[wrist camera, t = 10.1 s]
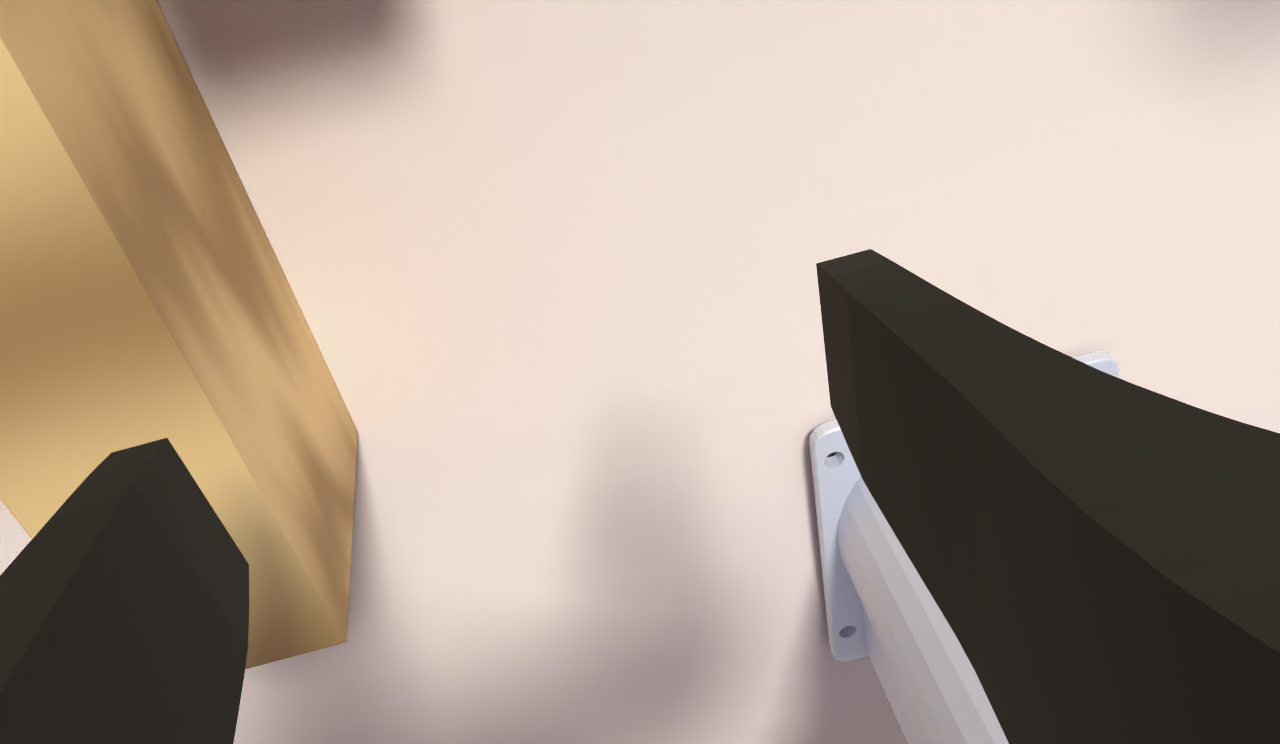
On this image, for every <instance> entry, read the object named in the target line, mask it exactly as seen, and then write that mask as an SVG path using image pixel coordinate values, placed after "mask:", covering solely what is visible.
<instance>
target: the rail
mask: <svg viewBox="0 0 1280 744" xmlns="http://www.w3.org/2000/svg"><path fill="white" fill-rule="evenodd" d="M164 438H168V440H169V441H170V443H171V444H172V446H173V447H174V449H175V450H176V452H177V454H178V455H179V457H180V458H181V460H182V461H183V463H184V464H185V466H186V468H187V469H188V471H189V472H190V474H191V475H192V477H193V478H194V480H195V482H196V483H197V485H198V486H199V488H200V489H201V491H202V492H203V494H204V495H205V497H206V499H207V500H208V502H209V503H210V505H211V506H212V508H213V509H214V511H215V513H216V514H217V516H218V517H219V519H220V520H221V522H222V523H223V525H224V527H225V528H226V530H227V531H228V533H229V534H230V536H231V537H232V539H233V540H234V542H235V544H236V545H237V547H238V548H239V550H240V551H241V553H242V554H243V556H244V558H245V559H246V561H247V562H248V564H249V634H248V652H247V659H246V666H245V669H247V668H251V667H255V666H258V665H262V664H266V663H270V662H273V661H277V660H281V659H285V658H288V657H292V656H296V655H300V654H303V653H307V652H311V651H315V650H318V649H322V648H326V647H330V646H333V645H337V644H341V643H345V642H347V626H348V608H349V589H350V570H351V551H352V533H353V514H354V495H355V477H356V458H357V439H358V431H357V429H356V427H355V425H354V423H353V421H352V418H351V416H350V414H349V412H348V410H347V408H346V405H345V403H344V401H343V399H342V397H341V395H340V393H339V390H338V388H337V386H336V384H335V382H334V380H333V378H332V375H331V373H330V371H329V369H328V367H327V365H326V363H325V360H324V358H323V356H322V354H321V352H320V350H319V347H318V345H317V343H316V341H315V339H314V337H313V335H312V332H311V330H310V328H309V326H308V324H307V322H306V320H305V317H304V315H303V313H302V311H301V309H300V307H299V304H298V302H297V300H296V298H295V296H294V294H293V292H292V289H291V287H290V285H289V283H288V281H287V279H286V277H285V274H284V272H283V270H282V268H281V266H280V264H279V262H278V259H277V257H276V255H275V253H274V251H273V249H272V246H271V244H270V242H269V240H268V238H267V236H266V234H265V231H264V229H263V227H262V225H261V223H260V221H259V219H258V216H257V214H256V212H255V210H254V208H253V206H252V204H251V201H250V199H249V197H248V195H247V193H246V191H245V188H244V186H243V184H242V182H241V180H240V178H239V176H238V173H237V171H236V169H235V167H234V165H233V163H232V161H231V158H230V156H229V154H228V152H227V150H226V148H225V146H224V143H223V141H222V139H221V137H220V135H219V133H218V130H217V128H216V126H215V124H214V122H213V120H212V118H211V115H210V113H209V111H208V109H207V107H206V105H205V103H204V100H203V98H202V96H201V94H200V92H199V90H198V87H197V85H196V83H195V81H194V79H193V77H192V75H191V72H190V70H189V68H188V66H187V64H186V62H185V60H184V57H183V55H182V53H181V51H180V49H179V47H178V45H177V42H176V40H175V38H174V36H173V34H172V32H171V29H170V27H169V25H168V23H167V21H166V19H165V17H164V14H163V12H162V10H161V8H160V6H159V4H158V2H157V0H0V500H1V501H2V502H3V504H4V505H5V506H6V507H7V509H8V510H9V511H10V512H11V514H12V515H13V516H14V517H15V519H16V520H17V521H18V522H19V524H20V525H21V526H22V527H23V529H24V530H25V531H26V532H27V534H28V535H29V536H30V537H31V539H33V538H34V537H35V536H36V534H37V533H38V532H39V531H40V530H41V529H42V527H43V526H44V525H45V524H46V523H47V522H48V521H49V519H50V518H51V517H52V516H53V515H54V514H55V513H56V511H57V510H58V509H59V508H60V507H61V506H62V504H63V503H64V502H65V501H66V500H67V499H68V498H69V497H70V495H71V494H72V493H73V492H74V491H75V490H76V489H77V488H78V486H79V485H80V484H81V483H82V482H83V481H84V480H85V479H86V478H87V477H88V476H89V475H90V473H91V472H92V471H93V470H94V469H95V468H96V467H97V466H98V465H99V464H100V463H101V462H102V461H103V460H104V459H105V458H106V457H108V456H109V455H110V454H111V453H112V452H116V451H119V450H123V449H127V448H130V447H134V446H138V445H142V444H145V443H149V442H153V441H157V440H160V439H164Z"/></svg>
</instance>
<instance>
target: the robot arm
mask: <svg viewBox="0 0 1280 744" xmlns="http://www.w3.org/2000/svg"><path fill="white" fill-rule="evenodd" d="M816 265H817V275H818V285H819V294H820V304H821V314H822V324H823V333H824V343H825V353H826V363H827V372H828V382H829V392H830V402H831V407H832V410H833V412H834V415H835V417H836V420H832V421H828V422H825V423H823V424H821V425H819V426H818V427H817V428H815V429H814V430H813V432H812V434H811V435H810V441H809V442H810V453H811V463H812V473H813V483H814V494H815V504H816V514H817V524H818V534H819V545H820V555H821V565H822V575H823V585H824V596H825V606H826V616H827V626H828V636H829V647H830V650H831V652H832V655H833V657H834V659H835V660H837V661H839V662H850V661H854V660H858V659H861V658H865V657H869V659H870V661H871V663H872V666H873V668H874V670H875V672H876V675H877V677H878V679H879V681H880V683H881V686H882V688H883V690H884V692H885V695H886V697H887V699H888V701H889V704H890V706H891V708H892V710H893V712H894V715H895V717H896V719H897V721H898V724H899V726H900V728H901V730H902V732H903V735H904V737H905V739H906V741H907V744H1280V434H1279V433H1276V432H1272V431H1269V430H1266V429H1262V428H1259V427H1255V426H1252V425H1248V424H1245V423H1241V422H1238V421H1235V420H1232V419H1229V418H1226V417H1223V416H1220V415H1217V414H1214V413H1211V412H1208V411H1205V410H1202V409H1199V408H1196V407H1193V406H1191V405H1188V404H1185V403H1183V402H1180V401H1177V400H1175V399H1172V398H1169V397H1166V396H1164V395H1161V394H1158V393H1156V392H1153V391H1150V390H1148V389H1145V388H1142V387H1139V386H1137V385H1134V384H1132V383H1129V382H1127V381H1124V380H1122V379H1119V378H1118V371H1119V365H1118V362H1117V361H1116V360H1115V359H1114V358H1113V357H1112V356H1111V355H1110V354H1109V353H1108V352H1106V351H1095V352H1091V353H1087V354H1083V355H1080V356H1076V357H1070V356H1068V355H1065V354H1063V353H1061V352H1059V351H1057V350H1054V349H1052V348H1050V347H1048V346H1046V345H1044V344H1042V343H1040V342H1038V341H1036V340H1034V339H1032V338H1030V337H1028V336H1026V335H1024V334H1022V333H1020V332H1018V331H1016V330H1014V329H1012V328H1010V327H1008V326H1006V325H1004V324H1002V323H1000V322H999V321H997V320H995V319H993V318H991V317H989V316H987V315H986V314H984V313H982V312H980V311H978V310H976V309H974V308H973V307H971V306H969V305H967V304H966V303H964V302H962V301H960V300H958V299H957V298H955V297H953V296H951V295H950V294H948V293H946V292H944V291H943V290H941V289H939V288H937V287H936V286H934V285H932V284H930V283H929V282H927V281H925V280H923V279H922V278H920V277H918V276H917V275H915V274H913V273H911V272H910V271H908V270H906V269H905V268H903V267H901V266H899V265H898V264H896V263H894V262H893V261H891V260H889V259H887V258H886V257H884V256H882V255H880V254H878V253H877V252H875V251H873V250H871V249H869V250H866V251H862V252H858V253H854V254H851V255H847V256H843V257H839V258H836V259H832V260H828V261H824V262H821V263H817V264H816ZM833 452H837V453H836V454H835V455H834V456H831V457H827V456H828V455H829V454H831V453H833ZM826 457H827V458H826ZM248 634H249V564H248V562H247V561H246V559H245V558H244V556H243V554H242V553H241V551H240V550H239V548H238V547H237V545H236V544H235V542H234V540H233V539H232V537H231V536H230V534H229V533H228V531H227V530H226V528H225V527H224V525H223V523H222V522H221V520H220V519H219V517H218V516H217V514H216V513H215V511H214V509H213V508H212V506H211V505H210V503H209V502H208V500H207V499H206V497H205V495H204V494H203V492H202V491H201V489H200V488H199V486H198V485H197V483H196V482H195V480H194V478H193V477H192V475H191V474H190V472H189V471H188V469H187V468H186V466H185V464H184V463H183V461H182V460H181V458H180V457H179V455H178V454H177V452H176V450H175V449H174V447H173V446H172V444H171V443H170V441H169V440H168V438H164V439H160V440H157V441H153V442H149V443H145V444H142V445H138V446H134V447H130V448H127V449H123V450H119V451H116V452H112V453H111V454H110V455H109V456H108V457H106V458H105V459H104V460H103V461H102V462H101V463H100V464H99V465H98V466H97V467H96V468H95V469H94V470H93V471H92V472H91V473H90V475H89V476H88V477H87V478H86V479H85V480H84V481H83V482H82V483H81V484H80V485H79V486H78V488H77V489H76V490H75V491H74V492H73V493H72V494H71V495H70V497H69V498H68V499H67V500H66V501H65V502H64V503H63V504H62V506H61V507H60V508H59V509H58V510H57V511H56V513H55V514H54V515H53V516H52V517H51V518H50V519H49V521H48V522H47V523H46V524H45V525H44V526H43V527H42V529H41V530H40V531H39V532H38V533H37V534H36V536H35V537H34V538H33V539H32V540H31V541H30V542H29V544H28V545H27V546H26V547H25V548H24V549H23V550H22V552H21V553H20V554H19V555H18V556H17V557H16V558H15V560H14V561H13V562H12V563H11V564H10V565H9V566H8V568H7V569H6V570H5V571H4V572H3V573H2V574H1V576H0V744H233V741H234V735H235V729H236V723H237V717H238V711H239V705H240V698H241V692H242V685H243V679H244V673H245V666H246V659H247V652H248Z"/></svg>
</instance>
